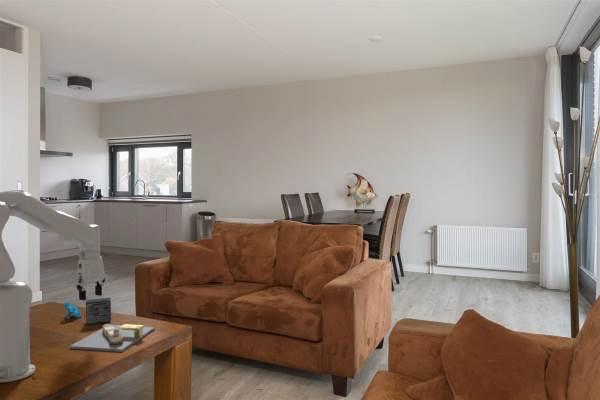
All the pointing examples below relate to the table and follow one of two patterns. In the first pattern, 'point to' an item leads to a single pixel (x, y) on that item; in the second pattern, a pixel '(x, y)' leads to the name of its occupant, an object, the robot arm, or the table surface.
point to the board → (103, 343)
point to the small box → (98, 311)
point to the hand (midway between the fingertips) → (90, 297)
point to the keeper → (137, 329)
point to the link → (112, 334)
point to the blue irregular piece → (72, 310)
